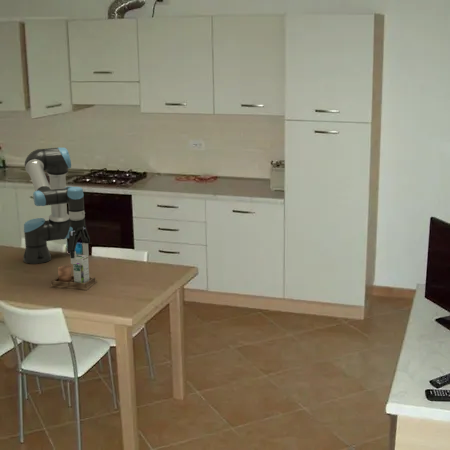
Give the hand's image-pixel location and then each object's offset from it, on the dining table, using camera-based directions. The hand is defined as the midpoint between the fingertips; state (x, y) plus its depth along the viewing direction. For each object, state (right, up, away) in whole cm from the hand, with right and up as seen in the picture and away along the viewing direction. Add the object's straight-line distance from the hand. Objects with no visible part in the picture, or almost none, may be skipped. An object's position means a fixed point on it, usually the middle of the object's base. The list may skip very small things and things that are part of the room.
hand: (80, 259), depth 347 cm
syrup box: (0, -12, +3) cm, 13 cm away
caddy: (-4, -13, +4) cm, 14 cm away
